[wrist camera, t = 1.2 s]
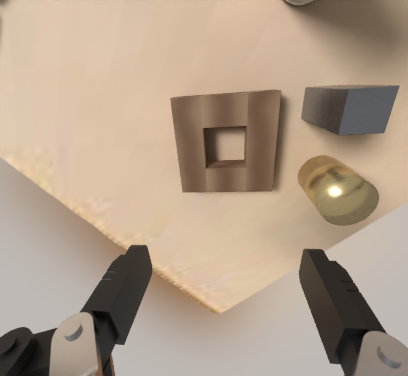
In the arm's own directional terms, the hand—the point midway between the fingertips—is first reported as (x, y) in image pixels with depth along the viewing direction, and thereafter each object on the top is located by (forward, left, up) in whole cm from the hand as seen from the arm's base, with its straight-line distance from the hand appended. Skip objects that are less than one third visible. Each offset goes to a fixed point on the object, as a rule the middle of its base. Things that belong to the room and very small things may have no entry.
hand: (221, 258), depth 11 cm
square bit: (-13, -5, -24) cm, 28 cm away
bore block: (0, 0, -24) cm, 24 cm away
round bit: (-15, +6, -24) cm, 29 cm away
